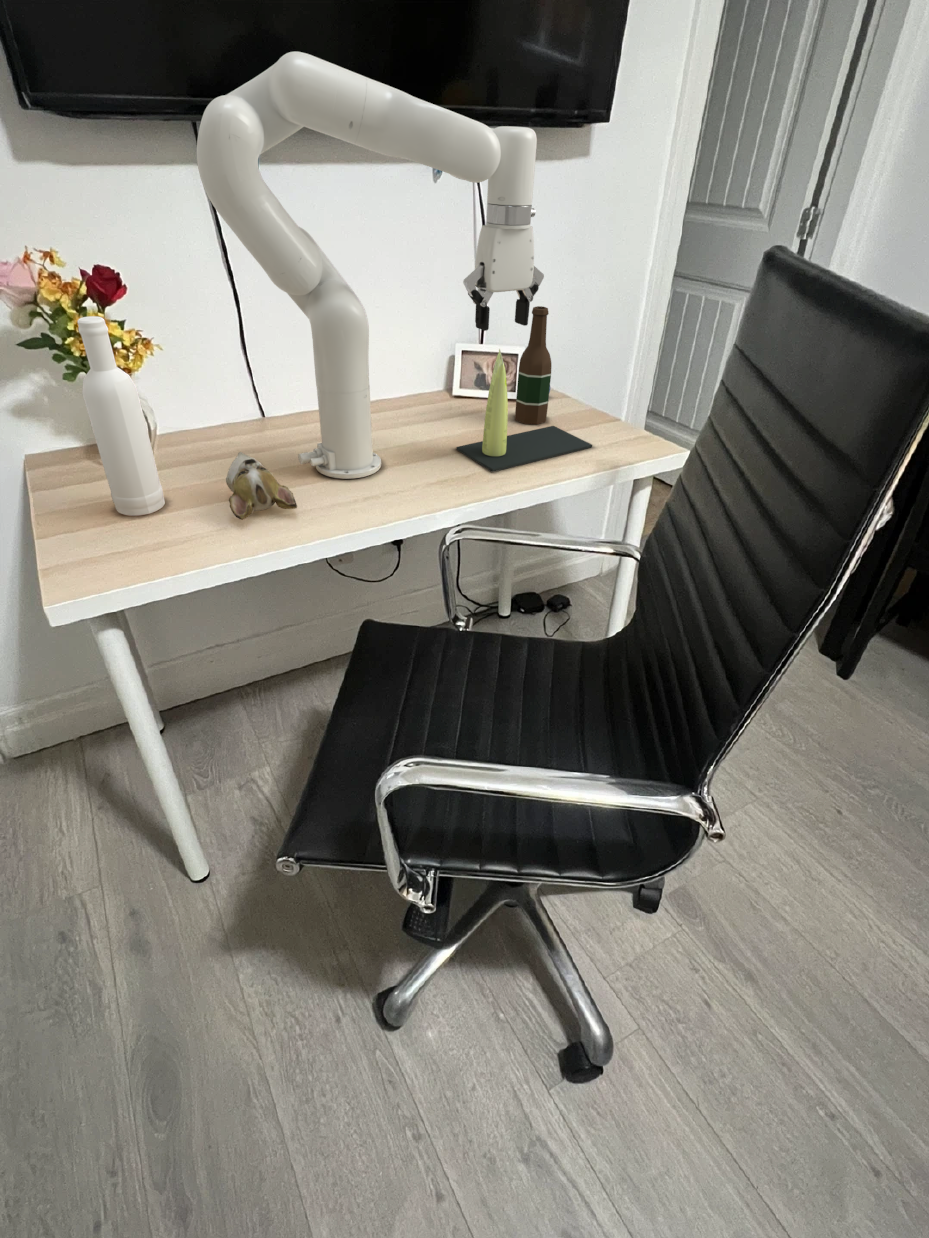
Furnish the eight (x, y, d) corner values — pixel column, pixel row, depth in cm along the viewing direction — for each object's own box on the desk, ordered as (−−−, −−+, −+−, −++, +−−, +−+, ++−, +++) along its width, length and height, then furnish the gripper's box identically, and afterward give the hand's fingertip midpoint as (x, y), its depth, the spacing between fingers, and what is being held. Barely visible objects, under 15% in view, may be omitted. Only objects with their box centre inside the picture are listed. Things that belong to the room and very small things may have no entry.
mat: (492, 472, 133) (492, 469, 133) (456, 449, 142) (456, 446, 142) (592, 447, 145) (592, 444, 145) (553, 428, 154) (553, 425, 154)
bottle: (150, 491, 121) (103, 310, 104) (175, 505, 118) (130, 319, 100) (106, 506, 116) (49, 318, 99) (131, 521, 112) (76, 328, 95)
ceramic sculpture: (268, 438, 120) (297, 474, 110) (274, 482, 126) (302, 521, 116) (206, 448, 116) (231, 487, 106) (215, 494, 121) (239, 535, 111)
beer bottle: (508, 414, 160) (516, 304, 146) (539, 412, 162) (550, 303, 148) (520, 426, 154) (530, 312, 140) (552, 424, 156) (565, 311, 142)
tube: (513, 454, 139) (521, 355, 128) (496, 460, 137) (502, 359, 125) (493, 446, 143) (499, 348, 131) (476, 452, 140) (480, 352, 128)
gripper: (535, 213, 122) (526, 317, 132) (453, 215, 114) (450, 327, 124) (562, 218, 117) (551, 326, 127) (478, 221, 109) (474, 336, 119)
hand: (501, 326), depth 125 cm, fingers open, 8 cm apart
